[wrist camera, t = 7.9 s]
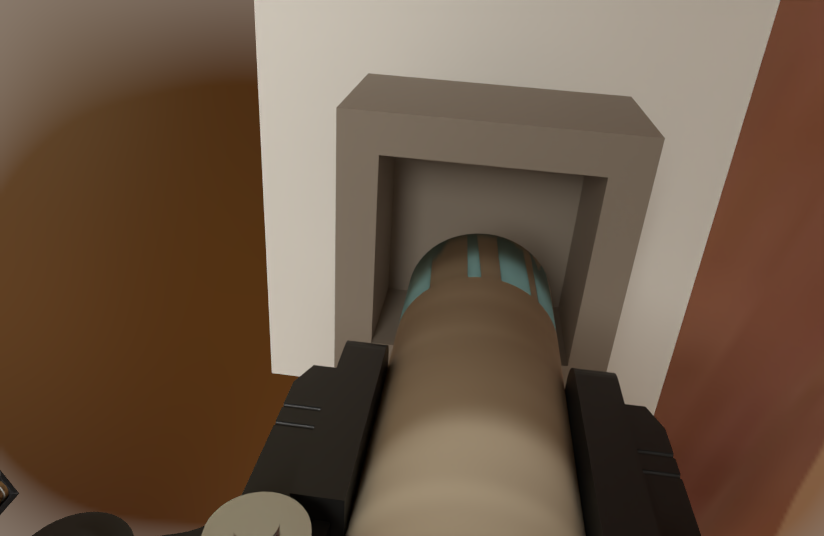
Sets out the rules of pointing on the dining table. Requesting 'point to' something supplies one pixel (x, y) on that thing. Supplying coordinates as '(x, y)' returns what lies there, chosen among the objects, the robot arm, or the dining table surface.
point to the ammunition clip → (6, 492)
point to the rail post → (472, 405)
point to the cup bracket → (499, 160)
